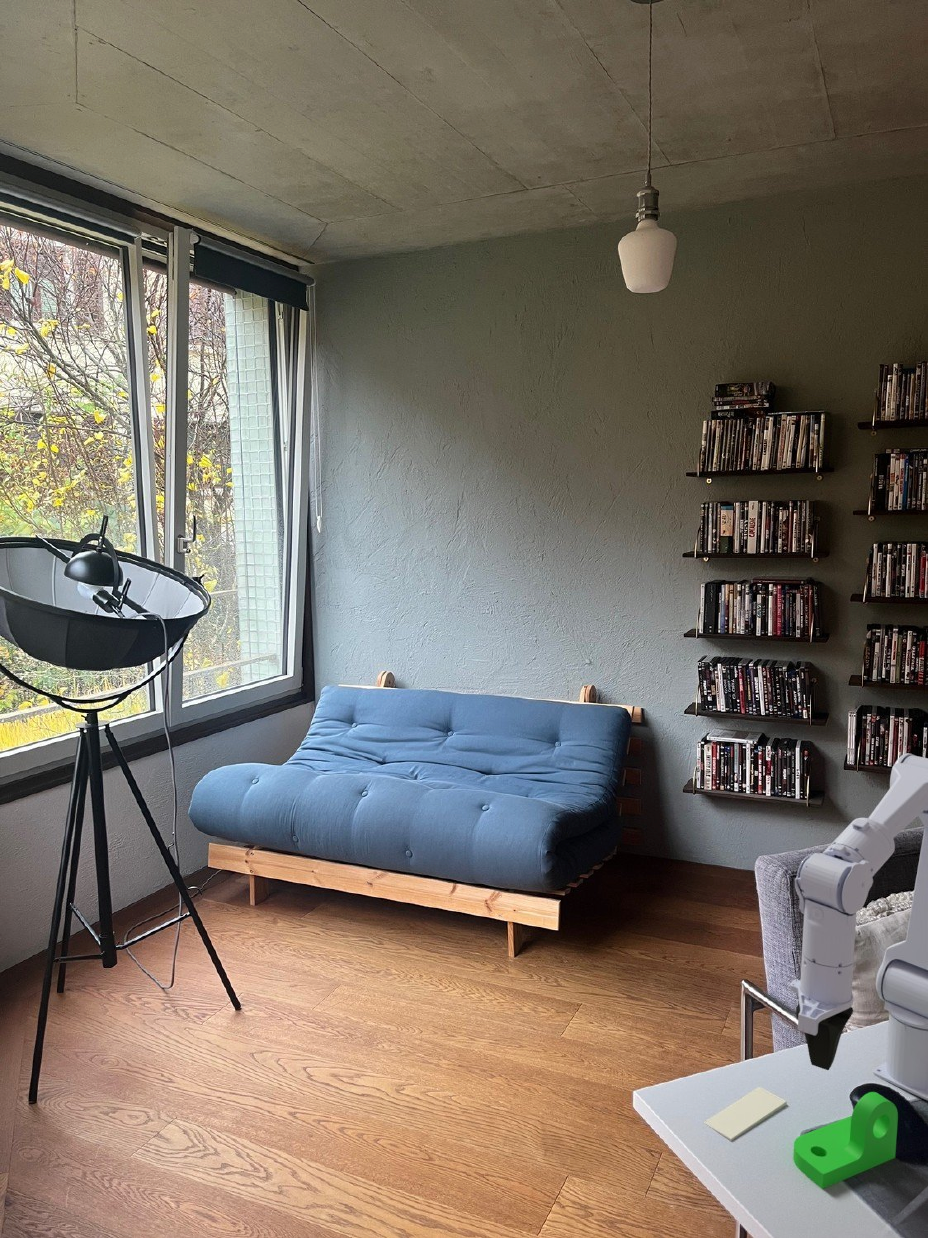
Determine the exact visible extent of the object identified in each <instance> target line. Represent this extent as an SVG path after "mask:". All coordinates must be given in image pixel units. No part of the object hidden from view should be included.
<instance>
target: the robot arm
mask: <svg viewBox="0 0 928 1238" xmlns="http://www.w3.org/2000/svg"><path fill="white" fill-rule="evenodd" d="M890 772H891V773H890V778H889V789H888V790H887V792H886V793H885V794H884V796H883V798H882V799H881V800H880V801H879V803H878V804H877V805H876V807H875V808H874V809H873V811H872V812H871V813H870V815H869V817H858V818H855V819H853V820H851V823H849V824H848V825H847V826H846V828H845V829H844V830H843V831H842V832H841V833H840V834H839V835H838V836H837V837H836V838H835V839H834V840H833V841H832V843H831V844H830V845H829V846H828V847H827V848H826V849H825V850H824V851H822V853H821V852H815V853H812V854H809V855H807V856H806V857H804V858H803V860H802V861H801V862H800V864H799V866H798V869H797V873H796V878H794V888H795V892H796V894H797V897H798V898H799V907H798V908H799V910H800V913H801V914H803V927H802V947H801V948H802V949H801V964H800V967H801V968H800V979H792V980H791V982H790V984H789V990H790V991H791V992H793V993H796V994H797V995H798V1005H797V1006H796V1007H795V1017H796V1018H797V1020H798V1021H797V1030H798V1031H800V1032H803V1033H804V1037H805V1040H806V1044H807V1051H808V1056H809V1060H810V1063H811V1066H813V1067H814V1066H815V1067H817V1068H820V1069H822V1070H826V1071H829V1070H830V1069H831V1067H832V1066H833V1063H834V1061H835V1057H836V1054H837V1051H838V1047H839V1043H840V1040H841V1036H842V1034H843V1031H844V1029H845V1026H846V1025H847V1023H848V1021H849V1020H850V1019H851V1017H852V1015H853V1013H854V1009H853V1007H852V1006H853V1005H854V994H853V980H854V979H853V978H854V961H855V960H854V959H855V941H856V928H857V927H856V926H857V925H856V923H857V913H858V912H859V911H860V910H861V909H862V908H863V907H864V905H865V902H866V901H867V898H868V896H869V891H870V889H871V887H873V883H874V879H873V877H874V876H875V875H876V874H877V872H878V871H879V870H880V869H881V867H883V865H884V864H885V863H886V862H887V861H888V860H889V859H890V857H891V856H892V855H893V854H894V852H895V849H896V846H895V841H894V840H895V839H894V838H895V837H896V836H897V835H899V834H900V832H902V831H903V830H904V829H905V828H906V827H907V826H908V825H909V824H911V823H912V822H913V821H914V820H915V819H916V818H919V820H920V822H921V823H922V825H923V827H924V828H923V829H924V830H923V836H922V842H921V847H920V852H919V853H920V854H919V858H918V859H919V861H918V865H917V871H916V872H917V874H916V877H915V883H914V889H913V895H912V901H911V906H910V907H911V908H910V914H909V919H908V926H907V932H906V938H905V940H902V941H899V942H896V943H894V944H892V945H890V946H888V947H887V948H885V952H884V957H883V960H882V962H881V964H880V967H879V969H878V971H877V974H876V980H875V987H876V988H875V989H876V992H877V996H878V998H879V999H880V1000H881V1001H883V1002H884V1010H886V1011H887V1012H888V1024H887V1025H888V1027H887V1029H888V1030H887V1042H886V1043H887V1044H886V1045H887V1046H886V1059H885V1061H884V1062H883V1063H882V1064H880V1065H878V1067H876V1068H874V1069H873V1070H872V1074H873V1075H874V1076H875V1077H877V1078H880V1079H881V1080H884V1081H886V1082H887V1083H889V1084H892V1085H893V1086H896V1087H898V1088H900V1089H902V1090H904V1091H906V1092H908V1093H911V1094H913V1095H915V1096H917V1097H919V1098H921V1099H923V1100H926V1101H928V758H927V757H922V756H917V755H915V754H912V753H904V754H901V756H900V757H899V758H897V759H896V761H895V762H894V764H893V766H892V768H891V771H890Z"/></svg>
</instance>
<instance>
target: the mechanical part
mask: <svg viewBox="0 0 928 1238" xmlns="http://www.w3.org/2000/svg"><path fill="white" fill-rule="evenodd" d="M898 1114H899V1113H898V1108H897V1106H896V1104H894V1103H893V1102H892V1101H890V1100H889V1099H887V1098H885V1097H884V1096H883V1095H881V1094H879V1093H878V1092H875V1091H869V1092H867V1093H865V1094H864V1095H862V1097H860V1099H859V1100H858V1102H857V1103H856V1104H855V1106H854V1108H853V1110H852V1114H851V1115H850V1116H847V1117H845V1118H842V1119H840V1120H837V1121H834V1122H832V1123H829V1124H827V1125H824V1126H822V1127H820V1128H817V1129H814V1130H811V1131H809V1132H806V1133H804V1134H801V1135H799V1136H797V1137H796V1138H795V1140H794V1141H793V1154H792V1156H793V1157H792V1159H793V1163H794V1164H795V1166H796V1167H797V1169H798V1170H799V1171H800V1172H802V1174H804V1175H805V1176H806V1177H807V1178H808V1179H809V1180H810V1181H811V1182H813V1183H814V1184H815V1185H817V1186H818V1187H819V1188H820V1189H821V1190H823V1189H826V1188H828V1187H830V1186H832V1185H835V1184H837V1183H840V1182H842V1181H844V1180H846V1179H849V1178H851V1177H854V1176H856V1175H858V1174H861V1173H863V1172H865V1171H868V1170H871V1169H872V1168H874V1167H877V1166H879V1165H882V1164H884V1163H887V1162H889V1161H891V1160H893V1159H896V1151H897V1150H896V1149H897V1135H898V1119H899V1115H898Z"/></svg>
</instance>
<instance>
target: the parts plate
mask: <svg viewBox="0 0 928 1238" xmlns="http://www.w3.org/2000/svg"><path fill="white" fill-rule="evenodd" d="M787 1103H788V1102H787V1100H785V1099H783V1098H781V1097H779V1096H777V1095H776V1094H774V1093H772V1092H770V1091H768V1090H766V1089H765V1088H763V1087H761V1086H758V1087H756V1088H755V1089H753V1090H752V1091H750V1092H749V1093H747V1094H745V1095H743V1097H741V1098H740V1099H738V1100H736V1101H735V1102H733V1103H731V1104H730V1105H728V1106H727V1107H725V1108H723V1109H722V1110H720V1111H719V1112H717V1113H716V1114H714V1115H712V1116H711V1117H710V1118H708V1119H706V1120H705V1121H703V1124H705V1125H706V1126H708V1127H709V1128H711V1129H712V1130H713V1131H714V1132H717V1133H718V1134H719V1135H720V1136H722V1137H725V1139H727V1140H728V1141H731V1142H732V1141H733V1140H735V1139H736V1138H738V1137H739V1136H741V1135H742V1134H744V1133H746V1132H747V1131H749V1130H750V1129H752V1128H753V1127H754V1126H756V1125H758V1124H760V1123H761V1122H762V1121H764V1120H765V1119H766V1118H768V1117H770V1116H771V1115H773V1114H775V1113H776V1112H777V1111H779V1110H780V1109H782V1108H783V1107H785V1106H787ZM706 1121H707V1122H706Z"/></svg>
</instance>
